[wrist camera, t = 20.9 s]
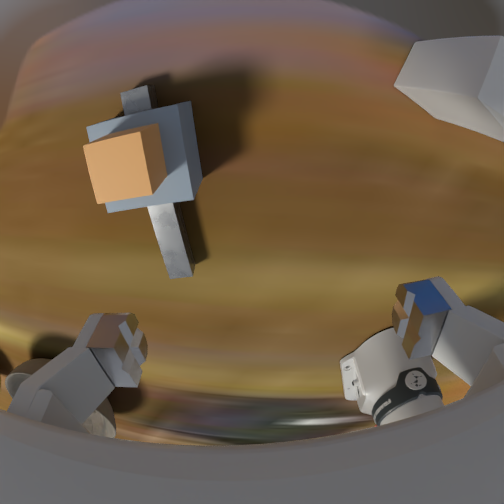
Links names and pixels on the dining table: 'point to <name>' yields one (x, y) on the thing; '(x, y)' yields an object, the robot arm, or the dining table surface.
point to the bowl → (96, 423)
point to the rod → (164, 215)
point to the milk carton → (458, 81)
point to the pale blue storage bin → (174, 149)
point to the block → (126, 163)
